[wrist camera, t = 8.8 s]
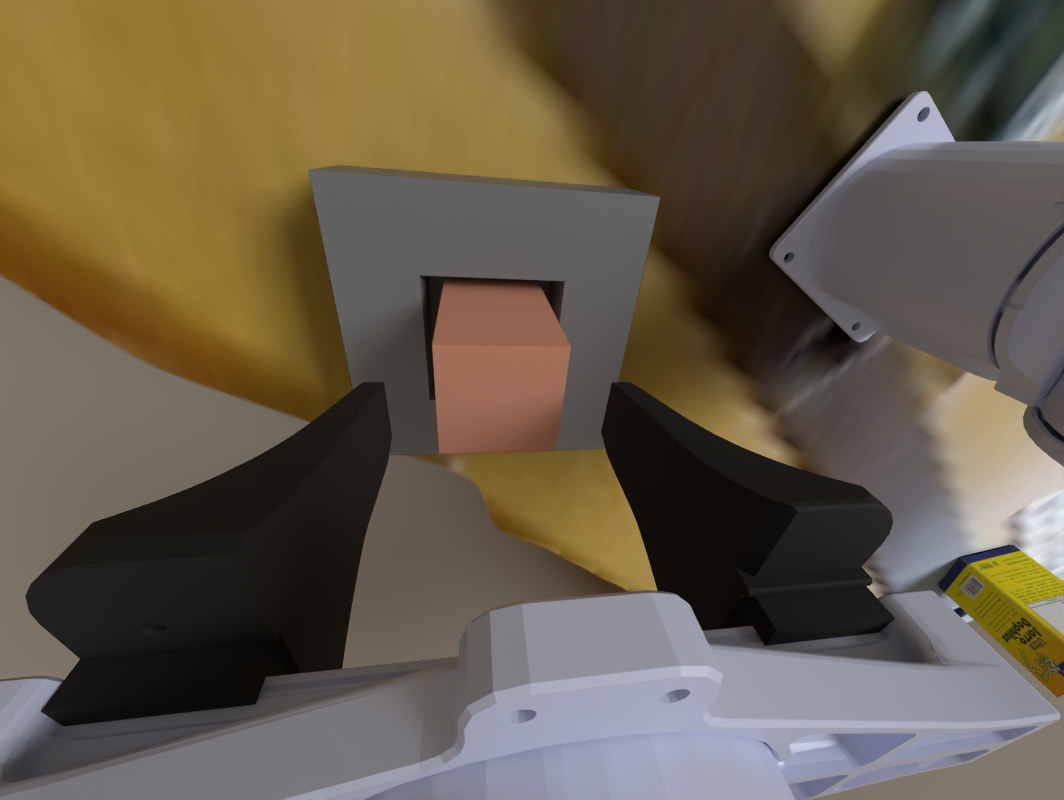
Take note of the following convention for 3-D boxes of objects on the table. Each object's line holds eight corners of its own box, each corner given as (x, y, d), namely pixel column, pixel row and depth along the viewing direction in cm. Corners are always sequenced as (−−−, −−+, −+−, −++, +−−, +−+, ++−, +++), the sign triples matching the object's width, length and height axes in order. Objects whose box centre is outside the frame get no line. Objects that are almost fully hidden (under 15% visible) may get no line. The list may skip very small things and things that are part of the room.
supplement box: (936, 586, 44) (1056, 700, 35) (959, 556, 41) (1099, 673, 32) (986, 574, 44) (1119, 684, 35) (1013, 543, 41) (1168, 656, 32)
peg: (533, 272, 18) (570, 346, 11) (527, 350, 20) (555, 450, 14) (446, 269, 17) (431, 344, 11) (449, 349, 20) (439, 453, 13)
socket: (628, 188, 17) (660, 197, 14) (586, 411, 24) (602, 448, 21) (338, 165, 15) (307, 169, 12) (380, 414, 22) (366, 455, 19)
